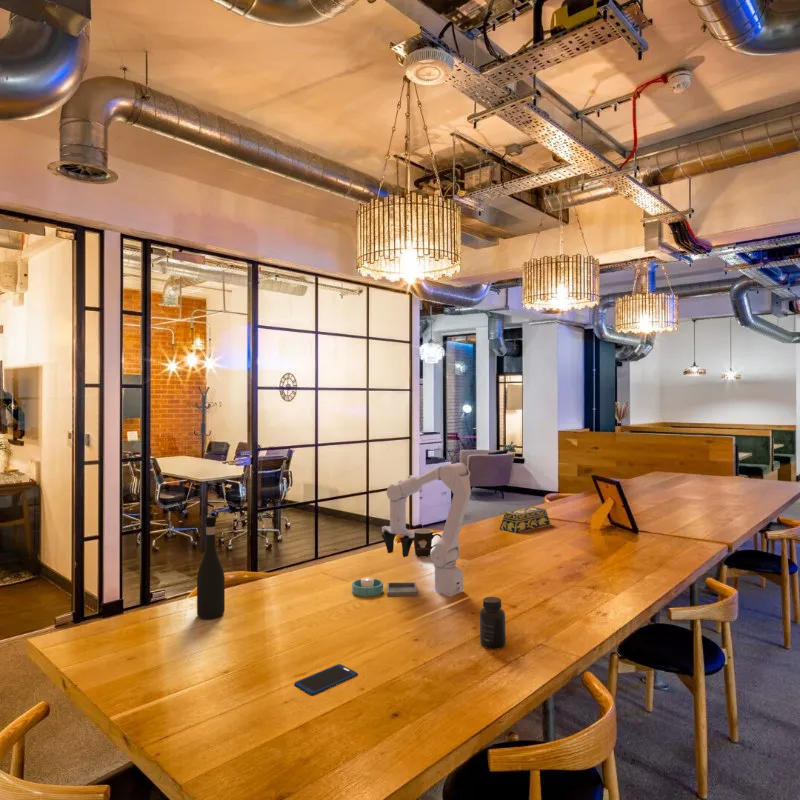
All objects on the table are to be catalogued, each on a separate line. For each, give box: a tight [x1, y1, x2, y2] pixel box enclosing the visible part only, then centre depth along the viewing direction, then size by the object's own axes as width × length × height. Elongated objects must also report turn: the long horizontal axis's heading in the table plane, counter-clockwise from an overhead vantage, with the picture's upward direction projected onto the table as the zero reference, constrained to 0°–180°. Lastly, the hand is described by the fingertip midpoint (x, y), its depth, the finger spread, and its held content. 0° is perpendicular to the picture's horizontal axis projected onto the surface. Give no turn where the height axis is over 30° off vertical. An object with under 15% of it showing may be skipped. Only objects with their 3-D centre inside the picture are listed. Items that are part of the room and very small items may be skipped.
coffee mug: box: [412, 528, 442, 557], centre depth 241 cm, size 12×9×10 cm
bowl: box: [351, 578, 384, 598], centre depth 194 cm, size 10×10×3 cm
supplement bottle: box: [479, 596, 507, 650], centre depth 153 cm, size 7×7×12 cm
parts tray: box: [386, 581, 418, 597], centre depth 195 cm, size 10×10×2 cm
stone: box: [360, 577, 375, 588], centre depth 194 cm, size 4×4×4 cm
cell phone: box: [293, 663, 359, 696], centre depth 134 cm, size 7×14×1 cm, turn 135°
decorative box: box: [498, 506, 552, 534], centre depth 294 cm, size 11×30×9 cm, turn 130°
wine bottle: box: [196, 515, 226, 620], centre depth 174 cm, size 8×8×30 cm
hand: (397, 554), depth 207 cm, fingers open, 7 cm apart
